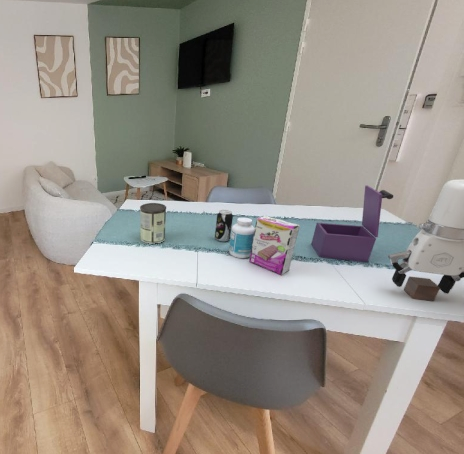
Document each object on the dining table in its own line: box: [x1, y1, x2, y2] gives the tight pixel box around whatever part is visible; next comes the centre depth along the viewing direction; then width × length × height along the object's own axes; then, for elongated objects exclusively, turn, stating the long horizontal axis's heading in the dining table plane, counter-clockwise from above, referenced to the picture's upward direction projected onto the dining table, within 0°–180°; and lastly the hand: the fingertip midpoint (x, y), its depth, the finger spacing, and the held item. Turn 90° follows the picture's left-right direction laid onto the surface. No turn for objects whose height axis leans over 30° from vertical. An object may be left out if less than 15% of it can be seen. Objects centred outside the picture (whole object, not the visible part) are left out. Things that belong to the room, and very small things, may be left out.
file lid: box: [361, 185, 394, 238], centre depth 94 cm, size 14×11×4 cm
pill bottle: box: [228, 216, 255, 259], centre depth 103 cm, size 8×7×14 cm
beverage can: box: [214, 209, 234, 243], centre depth 115 cm, size 6×6×12 cm
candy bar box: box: [248, 214, 301, 276], centre depth 94 cm, size 11×5×16 cm, turn 34°
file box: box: [311, 222, 377, 263], centre depth 101 cm, size 14×11×9 cm
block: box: [403, 275, 440, 302], centre depth 79 cm, size 4×4×4 cm
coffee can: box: [139, 202, 167, 245], centre depth 118 cm, size 10×10×14 cm
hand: (419, 287), depth 79 cm, fingers open, 9 cm apart
